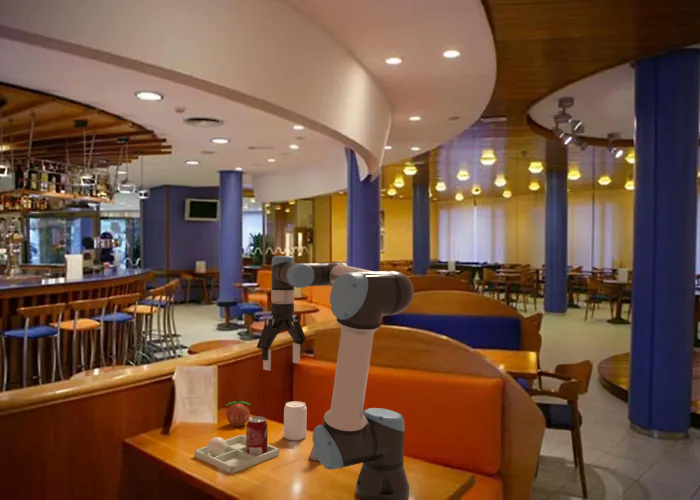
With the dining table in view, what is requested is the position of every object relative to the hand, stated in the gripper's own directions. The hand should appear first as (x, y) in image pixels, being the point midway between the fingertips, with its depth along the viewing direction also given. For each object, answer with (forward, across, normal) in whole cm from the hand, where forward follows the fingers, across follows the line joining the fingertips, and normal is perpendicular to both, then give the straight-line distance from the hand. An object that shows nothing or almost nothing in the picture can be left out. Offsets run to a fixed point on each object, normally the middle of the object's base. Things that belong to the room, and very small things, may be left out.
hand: (282, 366), depth 184 cm
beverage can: (+29, -14, -7) cm, 33 cm away
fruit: (+29, -8, -32) cm, 44 cm away
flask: (+29, -6, +12) cm, 32 cm away
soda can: (+28, +8, -3) cm, 30 cm away
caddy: (+29, +12, -8) cm, 32 cm away
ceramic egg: (+28, +17, -12) cm, 35 cm away
